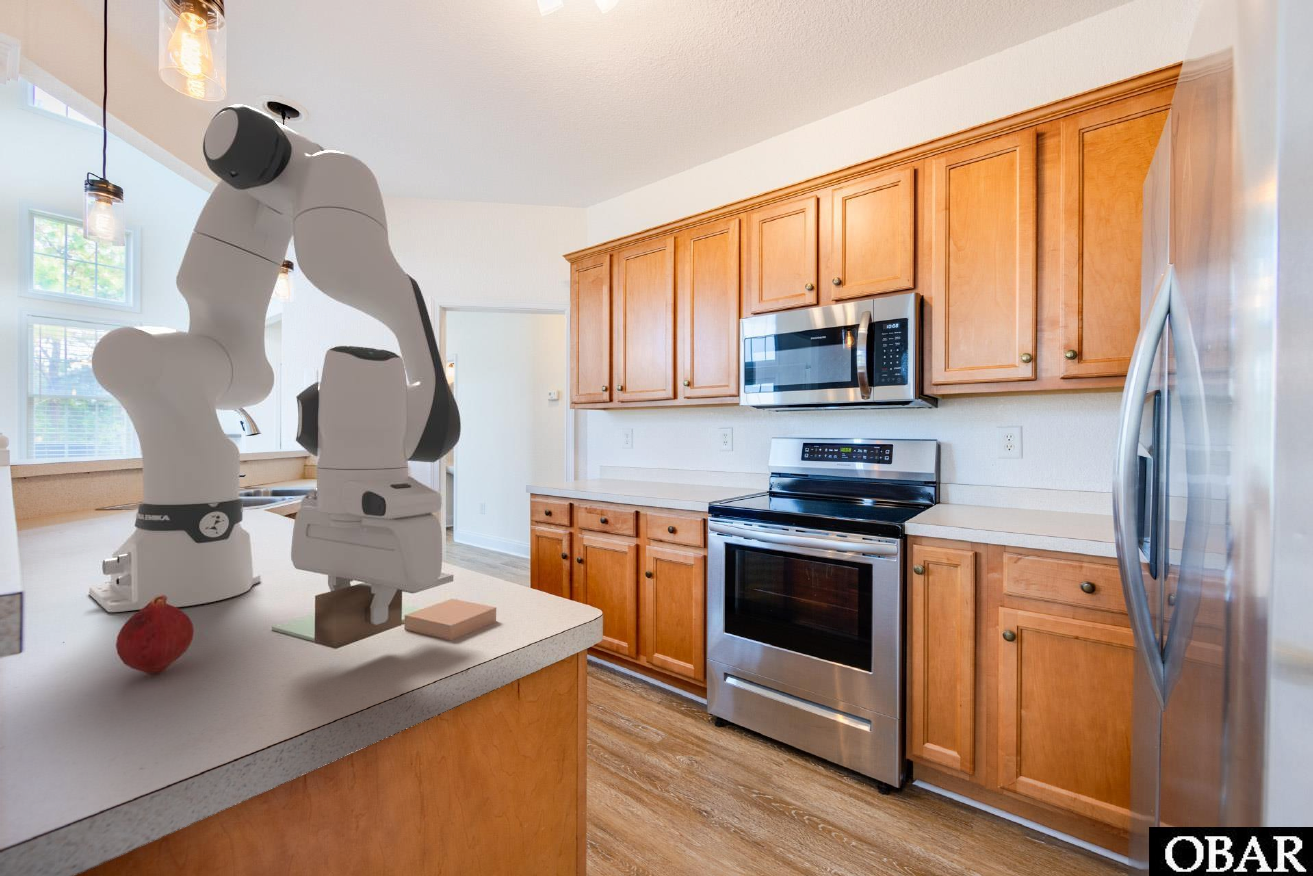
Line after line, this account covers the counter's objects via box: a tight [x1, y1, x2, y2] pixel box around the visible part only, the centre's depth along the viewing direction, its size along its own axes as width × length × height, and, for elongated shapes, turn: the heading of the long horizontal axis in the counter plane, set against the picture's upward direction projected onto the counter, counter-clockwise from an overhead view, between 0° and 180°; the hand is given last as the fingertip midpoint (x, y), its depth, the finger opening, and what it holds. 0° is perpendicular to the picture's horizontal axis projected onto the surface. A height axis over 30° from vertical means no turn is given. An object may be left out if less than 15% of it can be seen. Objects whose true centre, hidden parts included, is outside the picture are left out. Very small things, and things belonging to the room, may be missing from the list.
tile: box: [403, 598, 497, 641], centre depth 73 cm, size 8×2×8 cm
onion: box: [115, 595, 195, 675], centre depth 57 cm, size 6×6×8 cm
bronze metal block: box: [314, 572, 454, 650], centre depth 64 cm, size 7×14×5 cm, turn 155°
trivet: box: [271, 603, 423, 643], centre depth 74 cm, size 12×14×1 cm
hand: (361, 618), depth 61 cm, fingers closed on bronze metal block, 3 cm apart
